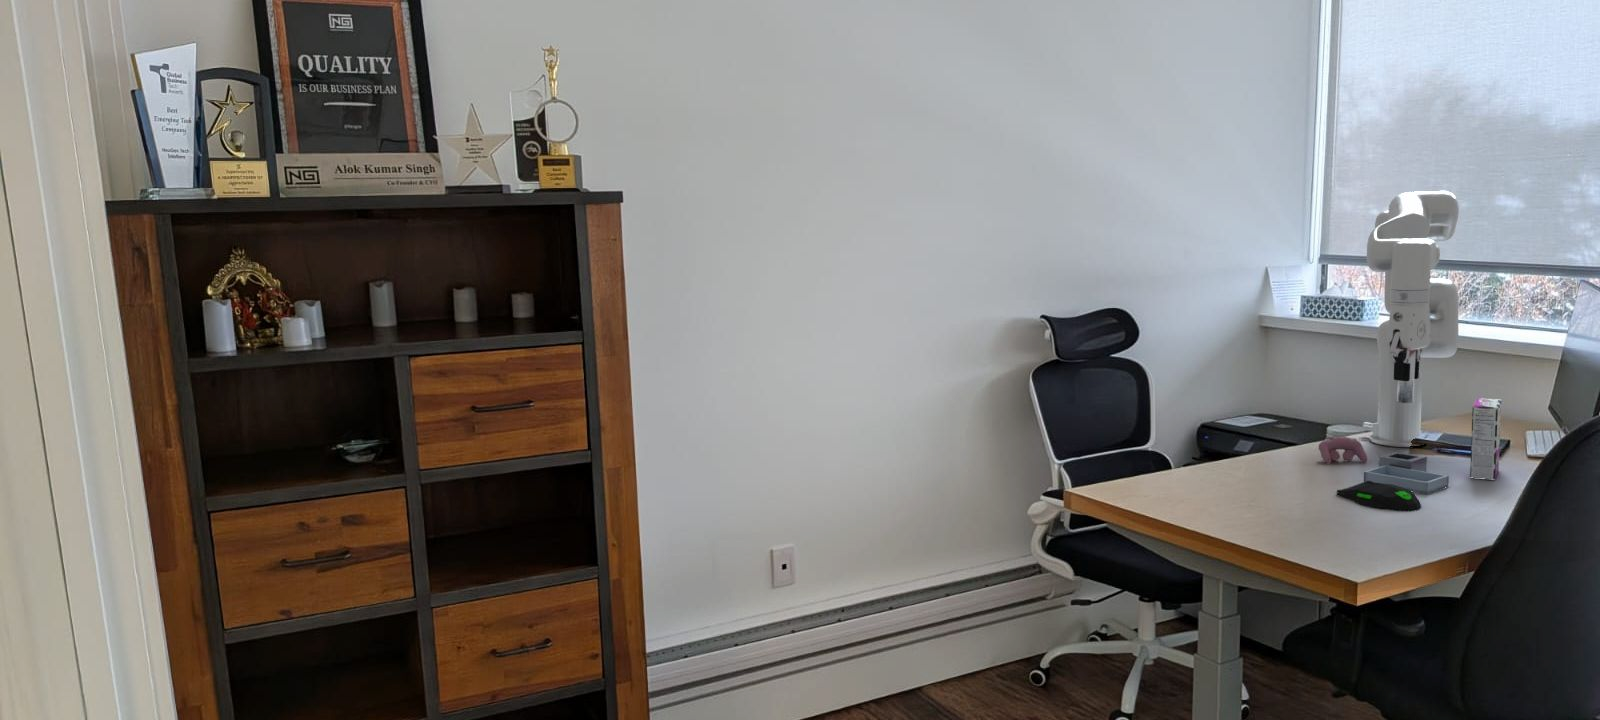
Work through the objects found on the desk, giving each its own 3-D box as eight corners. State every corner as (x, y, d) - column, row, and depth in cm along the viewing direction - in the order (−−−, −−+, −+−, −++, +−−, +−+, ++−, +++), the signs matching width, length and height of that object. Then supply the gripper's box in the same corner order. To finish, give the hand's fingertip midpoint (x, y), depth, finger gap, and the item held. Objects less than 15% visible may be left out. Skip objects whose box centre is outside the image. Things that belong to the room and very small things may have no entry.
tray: (1363, 482, 226) (1363, 471, 226) (1384, 475, 232) (1385, 465, 231) (1427, 494, 216) (1427, 482, 215) (1448, 487, 221) (1448, 475, 220)
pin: (1389, 401, 231) (1391, 344, 230) (1399, 399, 234) (1402, 342, 232) (1410, 404, 228) (1413, 346, 226) (1421, 401, 230) (1423, 344, 228)
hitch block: (1378, 473, 234) (1378, 456, 233) (1393, 468, 237) (1394, 451, 237) (1410, 479, 228) (1411, 461, 227) (1426, 474, 232) (1426, 456, 231)
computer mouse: (1388, 516, 203) (1389, 496, 203) (1324, 496, 219) (1324, 477, 218) (1434, 510, 206) (1434, 490, 206) (1367, 490, 222) (1368, 472, 221)
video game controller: (1362, 466, 247) (1357, 438, 249) (1370, 462, 242) (1365, 433, 245) (1319, 467, 248) (1314, 439, 250) (1326, 463, 243) (1321, 434, 245)
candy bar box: (1472, 468, 236) (1476, 397, 234) (1498, 470, 233) (1502, 399, 231) (1468, 478, 227) (1471, 405, 225) (1495, 481, 224) (1499, 407, 222)
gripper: (1408, 301, 220) (1405, 386, 223) (1445, 295, 229) (1441, 376, 232) (1372, 299, 226) (1369, 382, 229) (1410, 293, 235) (1406, 373, 238)
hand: (1406, 378), depth 230 cm, fingers closed on pin, 3 cm apart
